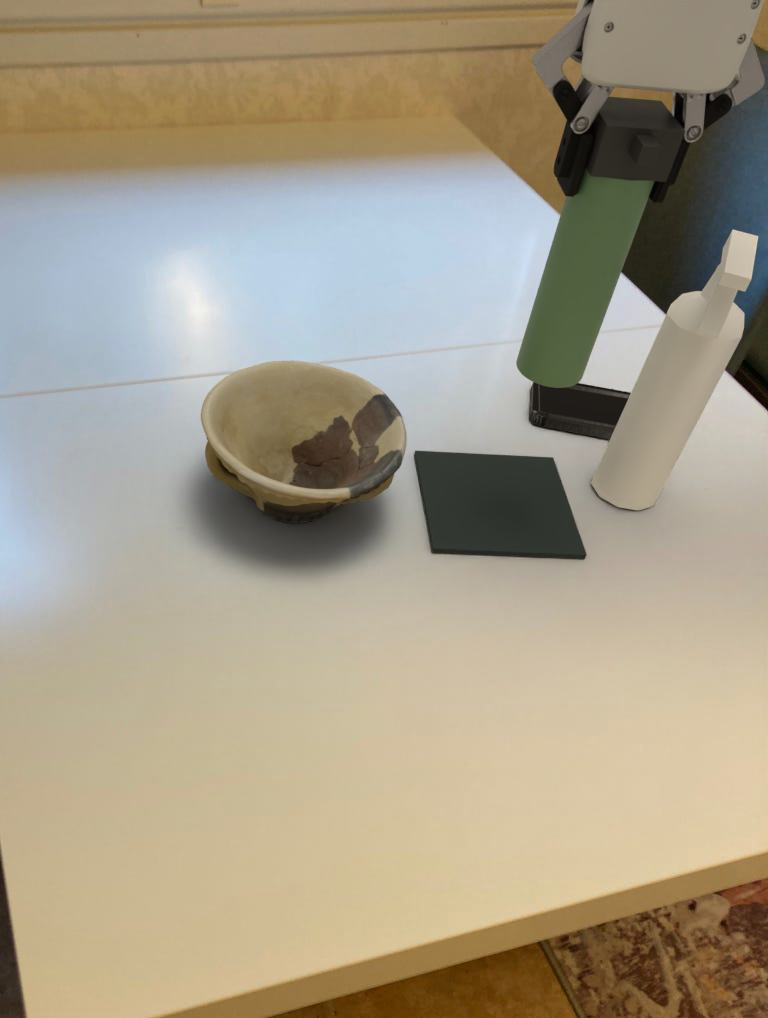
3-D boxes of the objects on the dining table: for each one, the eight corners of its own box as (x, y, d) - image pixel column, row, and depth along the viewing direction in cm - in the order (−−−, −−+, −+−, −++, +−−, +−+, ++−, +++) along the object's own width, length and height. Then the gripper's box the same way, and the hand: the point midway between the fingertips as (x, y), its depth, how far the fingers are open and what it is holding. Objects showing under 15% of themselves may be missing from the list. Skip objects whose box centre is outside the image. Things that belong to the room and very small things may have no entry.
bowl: (180, 554, 80) (180, 465, 73) (219, 430, 92) (222, 344, 85) (383, 585, 79) (402, 500, 72) (396, 457, 91) (413, 372, 84)
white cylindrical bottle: (669, 461, 95) (788, 215, 76) (653, 532, 87) (781, 278, 68) (604, 441, 96) (705, 195, 77) (582, 509, 88) (689, 255, 70)
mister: (510, 348, 77) (585, 93, 62) (573, 352, 77) (662, 100, 63) (527, 399, 72) (613, 135, 58) (595, 402, 72) (696, 142, 58)
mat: (551, 461, 93) (553, 457, 92) (584, 559, 84) (587, 554, 83) (413, 455, 92) (414, 450, 91) (432, 553, 83) (433, 548, 82)
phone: (533, 374, 101) (672, 399, 100) (530, 383, 102) (668, 408, 101) (531, 415, 96) (678, 442, 95) (528, 425, 97) (674, 451, 95)
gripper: (839, -143, 54) (708, 177, 68) (554, -173, 53) (478, 160, 66) (899, -115, 49) (745, 224, 63) (586, -147, 48) (497, 207, 61)
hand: (609, 188), depth 64 cm, fingers closed on mister, 5 cm apart
